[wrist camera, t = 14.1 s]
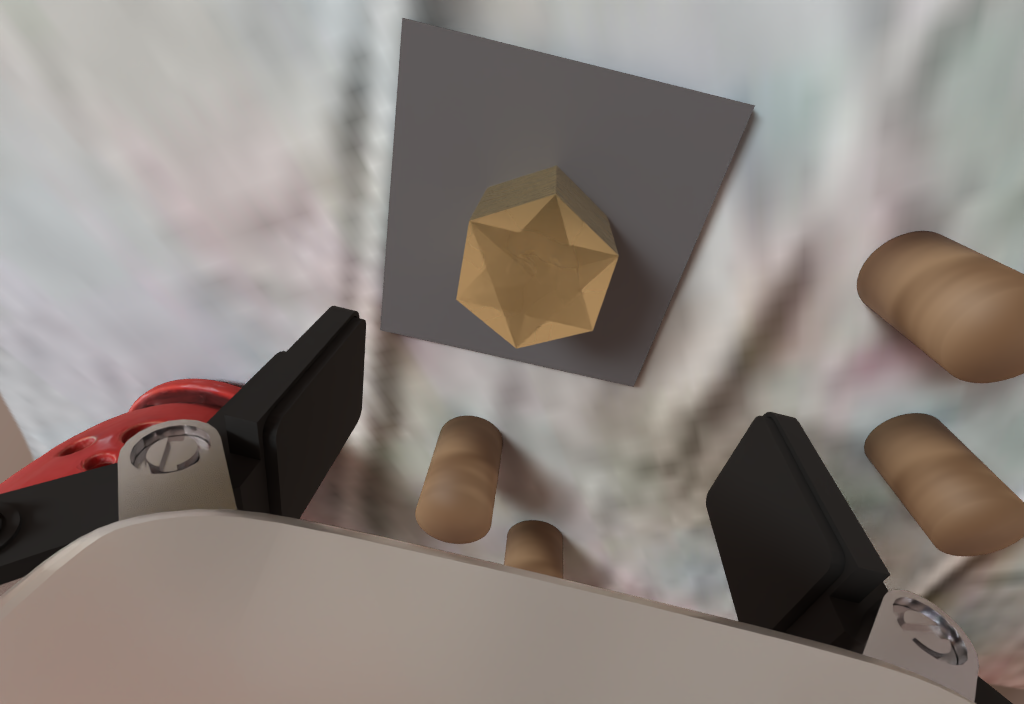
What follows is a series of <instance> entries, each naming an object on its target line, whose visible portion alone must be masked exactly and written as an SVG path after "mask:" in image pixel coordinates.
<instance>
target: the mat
mask: <svg viewBox="0 0 1024 704" xmlns="http://www.w3.org/2000/svg"><path fill="white" fill-rule="evenodd" d="M753 109H754V105H750V104H746V103H742V102H738V101H734V100H730V99H726V98H722V97H718V96H714V95H710V94H706V93H702V92H698V91H694V90H690V89H686V88H682V87H678V86H674V85H670V84H666V83H662V82H658V81H654V80H650V79H646V78H642V77H638V76H634V75H630V74H626V73H622V72H618V71H614V70H610V69H606V68H602V67H598V66H594V65H590V64H586V63H582V62H578V61H574V60H570V59H566V58H562V57H558V56H554V55H550V54H546V53H542V52H538V51H534V50H530V49H526V48H522V47H518V46H514V45H510V44H506V43H502V42H498V41H493V40H489V39H485V38H481V37H477V36H473V35H469V34H465V33H461V32H457V31H453V30H449V29H445V28H441V27H437V26H433V25H429V24H425V23H421V22H417V21H413V20H409V19H405V18H402V32H401V46H400V60H399V74H398V88H397V102H396V117H395V131H394V145H393V159H392V173H391V187H390V201H389V215H388V229H387V243H386V257H385V271H384V285H383V300H382V314H381V328H380V330H382V331H387V332H391V333H396V334H400V335H405V336H409V337H414V338H418V339H423V340H427V341H432V342H436V343H441V344H445V345H449V346H454V347H458V348H463V349H467V350H472V351H476V352H481V353H485V354H490V355H494V356H499V357H503V358H508V359H512V360H516V361H521V362H525V363H530V364H534V365H539V366H543V367H548V368H552V369H557V370H561V371H566V372H570V373H575V374H579V375H584V376H588V377H592V378H597V379H601V380H606V381H610V382H615V383H619V384H624V385H628V386H633V387H634V384H635V382H636V380H637V377H638V375H639V373H640V370H641V368H642V366H643V363H644V361H645V359H646V356H647V354H648V352H649V350H650V347H651V345H652V343H653V340H654V338H655V336H656V333H657V331H658V329H659V326H660V324H661V322H662V319H663V317H664V315H665V312H666V310H667V308H668V306H669V303H670V301H671V299H672V296H673V294H674V292H675V289H676V287H677V285H678V282H679V280H680V278H681V275H682V273H683V271H684V268H685V266H686V264H687V262H688V259H689V257H690V255H691V252H692V250H693V248H694V245H695V243H696V241H697V238H698V236H699V234H700V231H701V229H702V227H703V225H704V222H705V220H706V218H707V215H708V213H709V211H710V208H711V206H712V204H713V201H714V199H715V197H716V194H717V192H718V190H719V187H720V185H721V183H722V181H723V178H724V176H725V174H726V171H727V169H728V167H729V164H730V162H731V160H732V157H733V155H734V153H735V150H736V148H737V146H738V143H739V141H740V139H741V137H742V134H743V132H744V130H745V127H746V125H747V123H748V120H749V118H750V116H751V113H752V111H753ZM556 165H557V166H558V167H559V168H560V169H561V170H562V171H563V172H564V173H565V174H566V175H567V176H568V177H569V178H570V179H571V180H572V181H573V182H574V183H575V184H576V185H577V186H578V187H579V188H580V189H581V190H582V191H583V192H584V193H585V194H586V195H587V196H588V197H589V198H590V199H591V200H592V201H593V202H594V203H595V204H596V205H597V206H598V207H599V208H600V209H601V210H602V211H603V212H604V213H605V214H606V215H607V217H608V220H609V224H610V227H611V231H612V234H613V238H614V241H615V245H616V248H617V251H618V255H619V257H618V260H617V263H616V265H615V268H614V271H613V274H612V277H611V280H610V283H609V285H608V288H607V291H606V294H605V297H604V300H603V303H602V306H601V308H600V311H599V314H598V317H597V320H596V323H595V326H594V329H593V331H589V332H585V333H581V334H577V335H572V336H568V337H564V338H560V339H555V340H551V341H547V342H543V343H538V344H534V345H530V346H526V347H521V348H517V349H516V348H515V347H514V346H512V345H511V344H510V343H509V342H508V341H506V340H505V339H504V338H503V337H501V336H500V335H499V334H498V333H497V332H495V331H494V330H493V329H492V328H490V327H489V326H488V325H487V324H486V323H484V322H483V321H482V320H481V319H479V318H478V317H477V316H476V315H474V314H473V313H472V312H471V311H470V310H468V309H467V308H466V307H465V306H463V305H462V304H461V303H460V302H459V301H457V300H456V298H457V292H458V286H459V279H460V273H461V267H462V261H463V255H464V249H465V243H466V237H467V231H468V225H469V220H470V218H471V216H472V215H473V213H474V211H475V209H476V207H477V205H478V204H479V202H480V200H481V198H482V196H483V194H484V193H485V191H486V189H487V188H488V187H491V186H494V185H497V184H500V183H503V182H506V181H509V180H513V179H516V178H519V177H522V176H525V175H528V174H531V173H534V172H537V171H541V170H544V169H547V168H550V167H553V166H556Z"/></svg>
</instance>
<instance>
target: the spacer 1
mask: <svg viewBox="0 0 1024 704" xmlns="http://www.w3.org/2000/svg"><path fill="white" fill-rule="evenodd" d="M502 446H503V439H502V436H501V434H500V432H499V430H498V429H497V428H496V427H495V426H494V425H493V424H492V423H490V422H489V421H487V420H485V419H482V418H479V417H475V416H460V417H456V418H453V419H451V420H450V421H448V422H447V423H446V424H445V425H444V426H443V427H442V429H441V431H440V435H439V438H438V441H437V444H436V447H435V450H434V454H433V457H432V460H431V463H430V466H429V469H428V473H427V476H426V479H425V482H424V485H423V488H422V492H421V495H420V498H419V501H418V504H417V507H416V511H415V516H416V520H417V522H418V524H419V526H420V527H421V528H422V529H423V530H424V531H425V532H426V533H427V534H429V535H430V536H432V537H434V538H436V539H438V540H441V541H444V542H448V543H455V544H465V543H471V542H474V541H477V540H479V539H481V538H483V537H484V536H485V535H486V534H487V533H488V531H489V530H490V527H491V522H492V515H493V508H494V501H495V494H496V488H497V481H498V474H499V467H500V460H501V453H502Z"/></svg>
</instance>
